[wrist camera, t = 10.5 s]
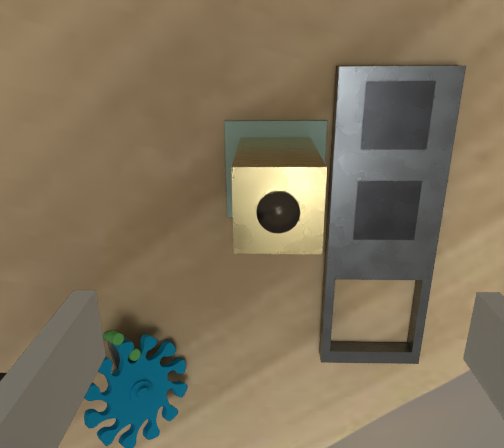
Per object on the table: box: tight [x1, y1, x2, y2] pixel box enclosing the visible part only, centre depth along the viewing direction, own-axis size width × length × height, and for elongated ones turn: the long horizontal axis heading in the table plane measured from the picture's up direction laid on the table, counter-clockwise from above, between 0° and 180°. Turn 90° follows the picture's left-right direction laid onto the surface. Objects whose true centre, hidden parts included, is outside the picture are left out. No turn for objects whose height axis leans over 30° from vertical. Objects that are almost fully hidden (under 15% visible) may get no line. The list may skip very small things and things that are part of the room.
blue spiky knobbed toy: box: [84, 330, 187, 448], centre depth 41 cm, size 11×6×10 cm
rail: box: [319, 65, 466, 364], centre depth 37 cm, size 9×26×2 cm, turn 0°
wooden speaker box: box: [231, 137, 327, 254], centre depth 31 cm, size 6×6×10 cm
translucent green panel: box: [225, 120, 327, 217], centre depth 36 cm, size 8×8×1 cm
